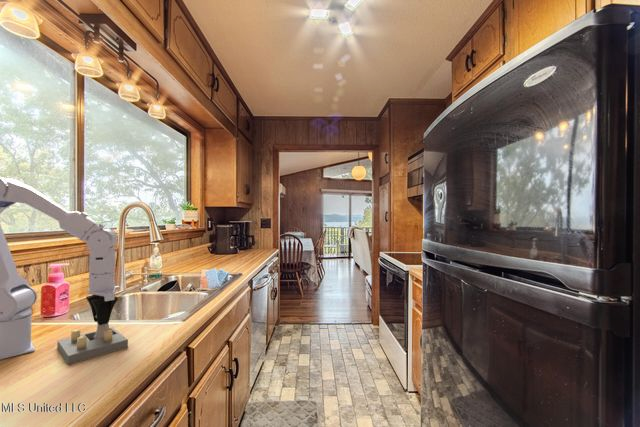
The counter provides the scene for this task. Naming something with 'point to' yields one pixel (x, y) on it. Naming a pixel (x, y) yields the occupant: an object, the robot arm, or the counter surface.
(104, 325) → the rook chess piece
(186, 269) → the counter surface
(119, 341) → the pin board
